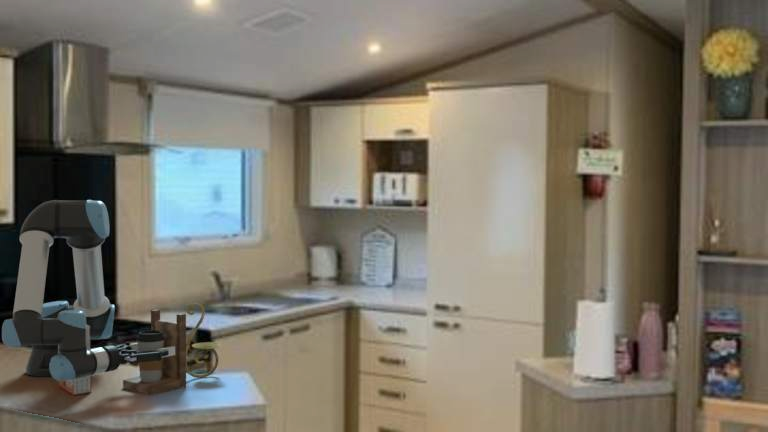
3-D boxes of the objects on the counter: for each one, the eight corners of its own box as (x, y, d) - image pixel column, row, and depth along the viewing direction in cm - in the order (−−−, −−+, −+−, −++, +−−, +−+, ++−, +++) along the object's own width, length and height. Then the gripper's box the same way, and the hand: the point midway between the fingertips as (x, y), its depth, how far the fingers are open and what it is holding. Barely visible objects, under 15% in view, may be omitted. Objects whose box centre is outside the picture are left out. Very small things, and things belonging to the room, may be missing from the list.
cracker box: (57, 386, 262) (56, 320, 261) (77, 383, 266) (76, 318, 265) (71, 396, 251) (70, 327, 250) (91, 393, 255) (91, 324, 254)
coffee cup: (140, 377, 265) (139, 330, 264) (166, 376, 266) (166, 329, 265) (134, 383, 257) (134, 334, 256) (162, 383, 257) (162, 334, 257)
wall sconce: (186, 383, 267) (186, 306, 266) (174, 377, 275) (174, 302, 274) (226, 377, 276) (226, 302, 274) (213, 372, 283) (213, 298, 282)
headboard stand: (123, 387, 261) (122, 314, 260) (157, 379, 272) (156, 309, 271) (152, 395, 253) (151, 319, 252) (186, 386, 264) (185, 313, 263)
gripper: (78, 366, 254) (136, 354, 271) (128, 378, 240) (186, 365, 257) (77, 342, 254) (136, 331, 271) (128, 352, 239) (186, 340, 257)
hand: (161, 347), depth 264 cm, fingers open, 12 cm apart
